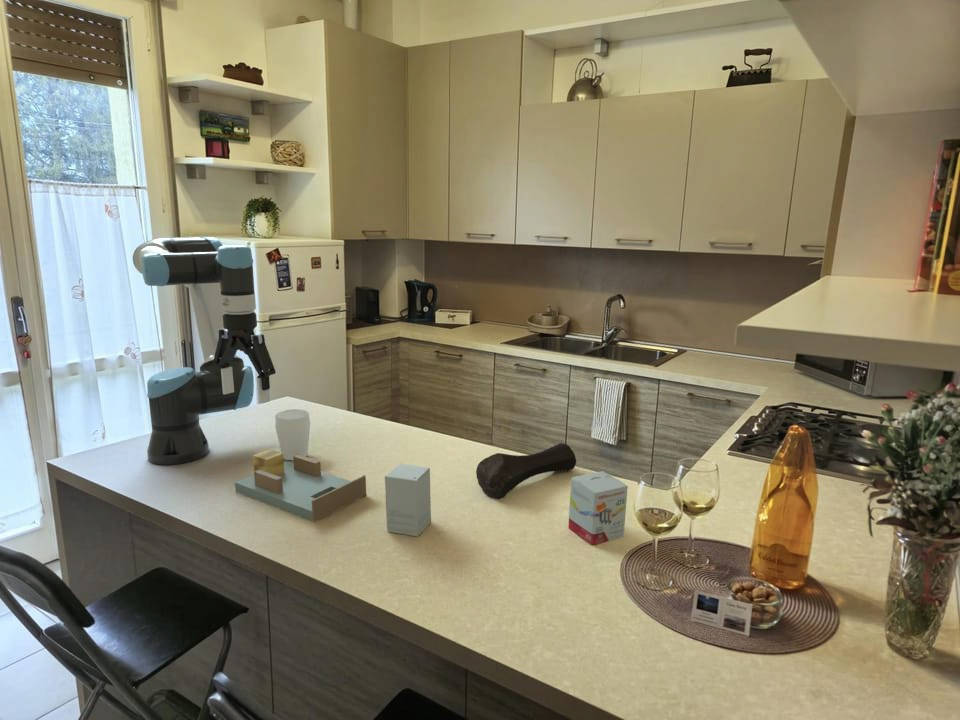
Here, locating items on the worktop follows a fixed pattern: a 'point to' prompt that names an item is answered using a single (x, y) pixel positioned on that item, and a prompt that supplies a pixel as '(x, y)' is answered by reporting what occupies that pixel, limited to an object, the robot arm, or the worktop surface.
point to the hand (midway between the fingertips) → (246, 397)
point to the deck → (303, 489)
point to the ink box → (597, 507)
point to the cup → (293, 432)
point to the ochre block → (269, 462)
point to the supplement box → (408, 499)
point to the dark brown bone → (521, 468)
